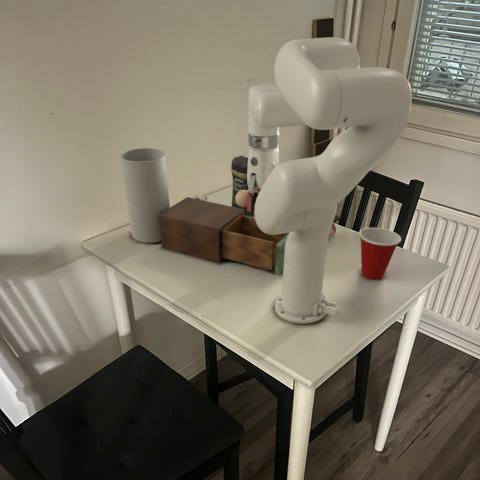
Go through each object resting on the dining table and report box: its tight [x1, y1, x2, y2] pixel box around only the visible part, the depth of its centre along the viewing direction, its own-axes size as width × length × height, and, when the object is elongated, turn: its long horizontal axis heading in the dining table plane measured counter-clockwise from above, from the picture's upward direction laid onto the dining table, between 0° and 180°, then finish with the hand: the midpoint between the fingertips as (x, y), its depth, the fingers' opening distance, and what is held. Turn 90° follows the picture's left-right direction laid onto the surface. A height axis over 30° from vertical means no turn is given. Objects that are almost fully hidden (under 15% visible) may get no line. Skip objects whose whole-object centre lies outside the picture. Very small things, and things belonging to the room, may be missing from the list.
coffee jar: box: [230, 155, 258, 217], centre depth 161 cm, size 10×8×19 cm
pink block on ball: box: [235, 190, 259, 212], centre depth 130 cm, size 13×5×5 cm, turn 62°
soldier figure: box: [194, 195, 208, 201], centre depth 166 cm, size 8×5×12 cm
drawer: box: [220, 215, 290, 276], centre depth 136 cm, size 24×14×9 cm, turn 62°
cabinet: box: [159, 196, 244, 264], centre depth 144 cm, size 20×15×11 cm
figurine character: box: [329, 214, 342, 238], centre depth 147 cm, size 7×8×15 cm
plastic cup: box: [358, 227, 402, 280], centre depth 130 cm, size 11×11×12 cm
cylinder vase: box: [119, 147, 171, 244], centre depth 146 cm, size 12×12×25 cm
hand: (261, 209), depth 131 cm, fingers closed on pink block on ball, 4 cm apart
